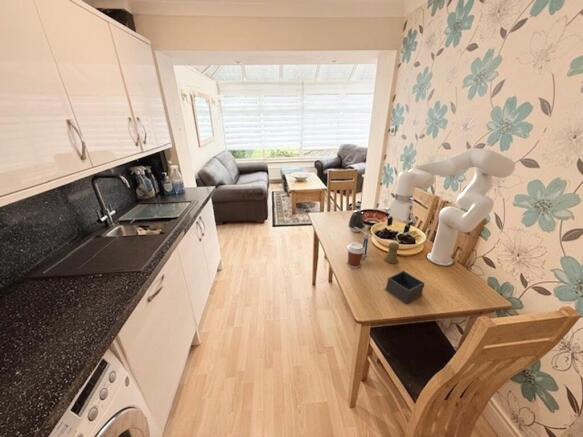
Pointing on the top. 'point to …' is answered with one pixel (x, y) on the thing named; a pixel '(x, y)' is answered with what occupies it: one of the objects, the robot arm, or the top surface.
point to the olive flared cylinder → (392, 253)
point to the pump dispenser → (356, 221)
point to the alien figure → (366, 239)
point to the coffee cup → (355, 254)
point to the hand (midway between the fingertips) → (397, 228)
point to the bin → (405, 286)
